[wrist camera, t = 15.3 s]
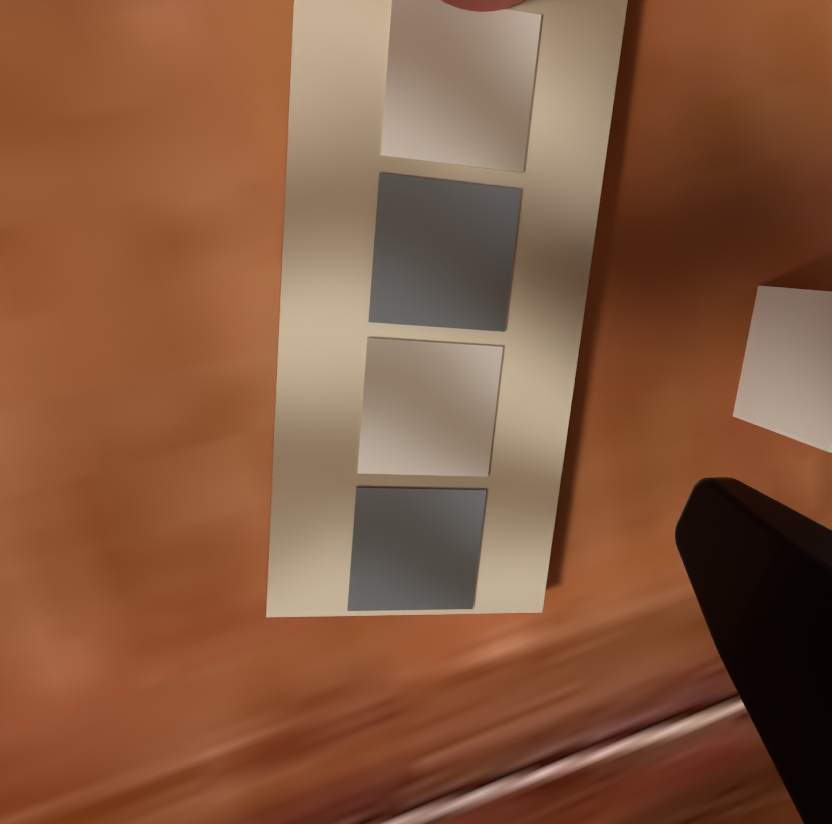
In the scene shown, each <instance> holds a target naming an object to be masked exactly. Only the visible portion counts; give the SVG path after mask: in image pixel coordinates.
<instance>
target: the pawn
mask: <svg viewBox="0 0 832 824" xmlns="http://www.w3.org/2000/svg"><path fill="white" fill-rule="evenodd" d="M441 1H443V2H444V3H447V4H449V5H451V6H454V7H456V8H460V9H464V10H468V11H477V12H490V11H498V10H502V9H507V8H509V7H512V6H515V5H517V4H519V3H521V2H523V1H525V0H441Z"/></svg>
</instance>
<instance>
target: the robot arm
mask: <svg viewBox="0 0 832 824" xmlns="http://www.w3.org/2000/svg"><path fill="white" fill-rule="evenodd" d="M675 540H676V545H677V548H678V551H679V553H680V556H681V559H682V561H683V564H684V566H685V569H686V571H687V574H688V577H689V579H690V582H691V584H692V587H693V590H694V592H695V595H696V597H697V600H698V602H699V605H700V608H701V610H702V613H703V615H704V618H705V621H706V623H707V626H708V628H709V631H710V633H711V636H712V638H713V641H714V643H715V646H716V648H717V650H718V653H719V655H720V657H721V659H722V661H723V663H724V665H725V668H726V670H727V672H728V674H729V676H730V678H731V680H732V682H733V684H734V686H735V688H736V690H737V692H738V694H739V696H740V698H741V700H742V702H743V704H744V706H745V708H746V710H747V712H748V714H749V716H750V717H751V719H752V721H753V723H754V725H755V727H756V729H757V731H758V733H759V735H760V737H761V739H762V741H763V743H764V745H765V747H766V749H767V751H768V753H769V755H770V757H771V759H772V761H773V763H774V765H775V767H776V769H777V771H778V773H779V775H780V777H781V779H782V781H783V783H784V785H785V787H786V789H787V791H788V793H789V795H790V797H791V799H792V801H793V803H794V805H795V807H796V809H797V811H798V813H799V815H800V817H801V819H802V821H803V823H804V824H832V530H830V529H828V528H826V527H825V526H823V525H821V524H819V523H817V522H815V521H813V520H811V519H810V518H808V517H806V516H804V515H802V514H800V513H798V512H796V511H795V510H793V509H791V508H789V507H787V506H785V505H783V504H782V503H780V502H778V501H776V500H774V499H772V498H770V497H768V496H767V495H765V494H763V493H761V492H759V491H757V490H755V489H753V488H752V487H750V486H748V485H746V484H744V483H742V482H740V481H739V480H736V479H734V478H728V477H720V478H704V479H701V480H700V481H698V482H697V483H696V484H695V486H694V488H693V490H692V492H691V494H690V496H689V499H688V501H687V503H686V505H685V507H684V510H683V512H682V514H681V516H680V518H679V521H678V523H677V526H676V530H675Z"/></svg>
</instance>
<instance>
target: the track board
mask: <svg viewBox="0 0 832 824" xmlns="http://www.w3.org/2000/svg"><path fill="white" fill-rule="evenodd" d="M627 3H628V0H525V1H523V2H521V3H519V4H517V5H515V6H512V7H509V8H507V9H502V10H498V11H490V12H477V11H468V10H464V9H460V8H456V7H454V6H451V5H449V4H447V3H444V2H443V1H441V0H294V12H293V34H292V56H291V78H290V100H289V122H288V144H287V166H286V188H285V210H284V232H283V254H282V277H281V299H280V321H279V343H278V365H277V387H276V409H275V431H274V453H273V475H272V497H271V519H270V541H269V563H268V586H267V611H266V617H310V616H367V615H424V614H480V613H537V612H542V611H543V604H544V597H545V589H546V582H547V575H548V568H549V561H550V554H551V546H552V539H553V532H554V525H555V518H556V511H557V504H558V496H559V489H560V482H561V475H562V468H563V461H564V453H565V446H566V439H567V432H568V425H569V418H570V410H571V403H572V396H573V389H574V382H575V375H576V368H577V360H578V353H579V346H580V339H581V332H582V325H583V317H584V310H585V303H586V296H587V289H588V282H589V275H590V267H591V260H592V253H593V246H594V239H595V232H596V224H597V217H598V210H599V203H600V196H601V189H602V181H603V174H604V167H605V160H606V153H607V146H608V139H609V131H610V124H611V117H612V110H613V103H614V96H615V88H616V81H617V74H618V67H619V60H620V53H621V46H622V38H623V31H624V24H625V17H626V10H627Z"/></svg>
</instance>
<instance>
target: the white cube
mask: <svg viewBox="0 0 832 824" xmlns="http://www.w3.org/2000/svg"><path fill="white" fill-rule="evenodd" d="M733 416H734V417H736V418H739V419H742V420H744V421H747V422H750V423H752V424H755V425H758V426H760V427H763V428H766V429H768V430H771V431H774V432H776V433H779V434H782V435H784V436H787V437H790V438H792V439H795V440H798V441H800V442H803V443H806V444H808V445H811V446H814V447H816V448H819V449H822V450H824V451H827V452H831V453H832V292H830V291H818V290H806V289H794V288H782V287H771V286H759V285H758V289H757V294H756V300H755V305H754V310H753V315H752V320H751V325H750V330H749V335H748V341H747V346H746V351H745V356H744V361H743V366H742V371H741V377H740V382H739V387H738V392H737V397H736V402H735V407H734V412H733Z"/></svg>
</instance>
